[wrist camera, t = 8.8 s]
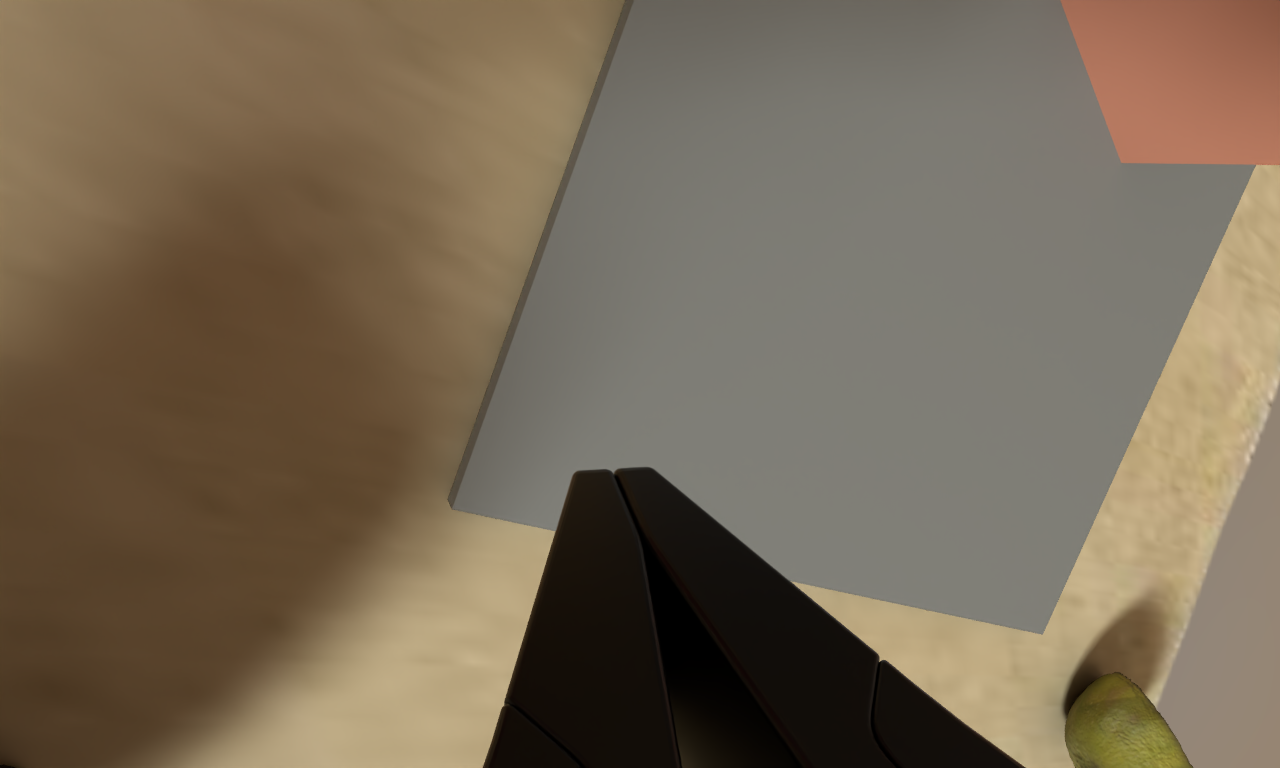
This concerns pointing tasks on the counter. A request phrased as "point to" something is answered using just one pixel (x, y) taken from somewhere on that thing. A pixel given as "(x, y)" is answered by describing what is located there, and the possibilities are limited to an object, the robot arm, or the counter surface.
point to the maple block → (1184, 77)
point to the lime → (1120, 729)
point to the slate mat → (852, 294)
